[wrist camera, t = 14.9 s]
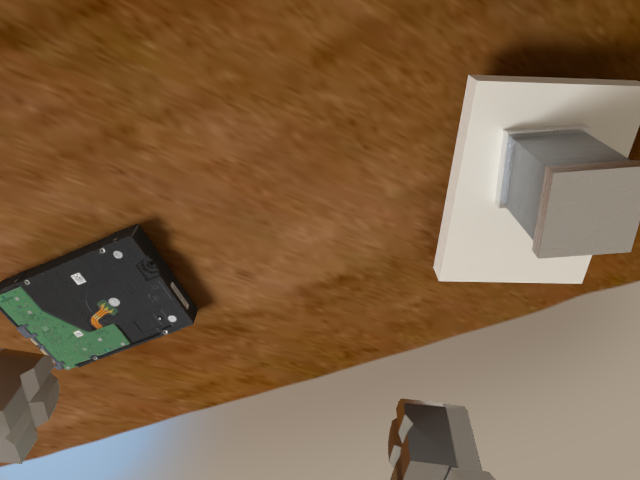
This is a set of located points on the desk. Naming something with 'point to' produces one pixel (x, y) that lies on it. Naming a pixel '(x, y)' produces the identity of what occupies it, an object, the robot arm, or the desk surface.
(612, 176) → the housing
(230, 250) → the desk surface
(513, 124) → the stand
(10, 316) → the disk drive
